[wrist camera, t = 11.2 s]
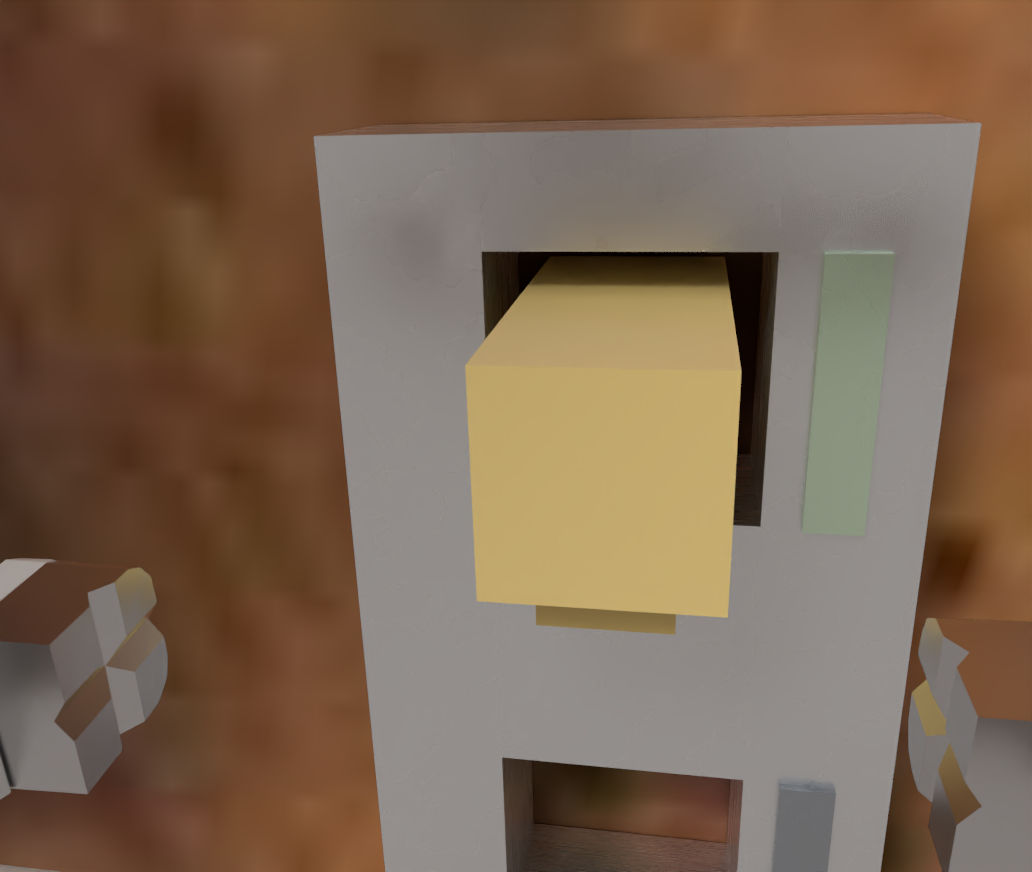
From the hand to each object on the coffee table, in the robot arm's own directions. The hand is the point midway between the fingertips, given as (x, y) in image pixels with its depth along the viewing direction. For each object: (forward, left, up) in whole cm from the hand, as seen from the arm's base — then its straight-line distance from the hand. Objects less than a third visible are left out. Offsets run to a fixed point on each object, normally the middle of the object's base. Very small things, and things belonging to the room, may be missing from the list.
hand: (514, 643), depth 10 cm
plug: (0, 0, -14) cm, 14 cm away
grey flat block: (+6, +1, -14) cm, 15 cm away
